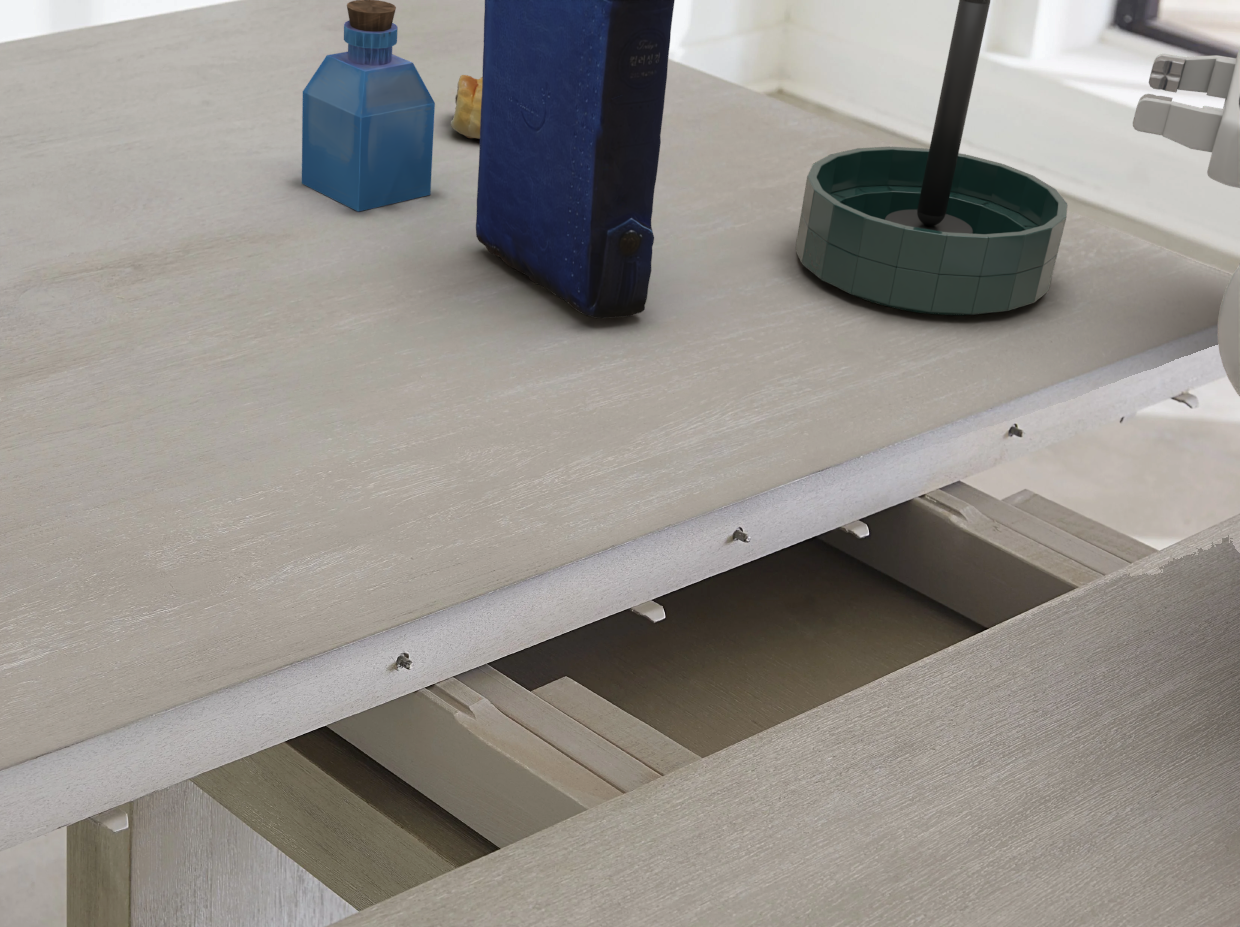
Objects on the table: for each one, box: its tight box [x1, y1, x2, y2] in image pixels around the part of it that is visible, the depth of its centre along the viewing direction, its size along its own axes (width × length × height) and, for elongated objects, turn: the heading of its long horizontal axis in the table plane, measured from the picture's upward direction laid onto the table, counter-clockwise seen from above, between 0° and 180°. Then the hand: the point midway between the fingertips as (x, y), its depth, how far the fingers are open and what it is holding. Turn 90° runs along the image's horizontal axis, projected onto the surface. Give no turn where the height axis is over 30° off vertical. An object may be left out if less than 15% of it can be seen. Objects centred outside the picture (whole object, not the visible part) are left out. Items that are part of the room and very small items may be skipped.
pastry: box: [450, 74, 483, 140], centre depth 139 cm, size 9×7×4 cm
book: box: [475, 0, 676, 319], centre depth 111 cm, size 14×5×20 cm, turn 32°
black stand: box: [885, 0, 991, 234], centre depth 118 cm, size 6×6×17 cm
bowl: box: [795, 146, 1069, 316], centre depth 121 cm, size 16×16×6 cm
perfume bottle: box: [301, 0, 436, 213], centre depth 125 cm, size 6×6×12 cm
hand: (1143, 89), depth 112 cm, fingers open, 8 cm apart
